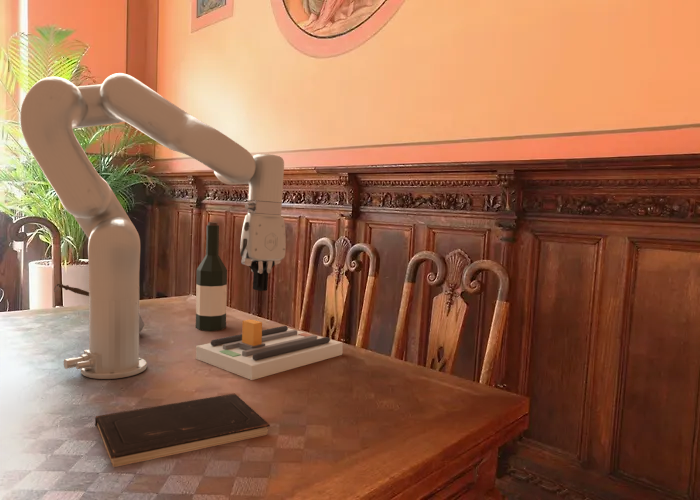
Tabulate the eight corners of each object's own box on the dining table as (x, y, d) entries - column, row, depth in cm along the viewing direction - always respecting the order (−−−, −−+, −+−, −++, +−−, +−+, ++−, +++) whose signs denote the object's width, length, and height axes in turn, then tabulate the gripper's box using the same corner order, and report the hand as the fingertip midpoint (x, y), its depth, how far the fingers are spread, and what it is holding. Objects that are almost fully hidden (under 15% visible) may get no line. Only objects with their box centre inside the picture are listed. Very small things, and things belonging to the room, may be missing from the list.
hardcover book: (269, 438, 84) (269, 424, 84) (111, 472, 72) (111, 456, 72) (233, 404, 98) (233, 392, 98) (95, 428, 86) (95, 414, 85)
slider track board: (251, 380, 110) (252, 361, 109) (195, 358, 123) (196, 341, 122) (342, 354, 131) (343, 338, 131) (286, 338, 144) (287, 324, 143)
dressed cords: (255, 361, 112) (255, 355, 112) (209, 345, 123) (209, 339, 123) (331, 342, 130) (331, 337, 130) (285, 330, 141) (285, 325, 141)
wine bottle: (232, 327, 154) (234, 223, 151) (210, 332, 147) (212, 223, 144) (211, 323, 158) (213, 221, 156) (189, 327, 151) (190, 221, 149)
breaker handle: (251, 351, 119) (252, 324, 118) (237, 346, 122) (238, 320, 121) (265, 348, 122) (266, 322, 121) (251, 343, 125) (252, 318, 124)
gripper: (249, 209, 113) (244, 295, 115) (300, 212, 125) (295, 290, 126) (227, 207, 118) (222, 289, 119) (278, 210, 129) (273, 285, 131)
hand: (259, 289), depth 123 cm, fingers closed
